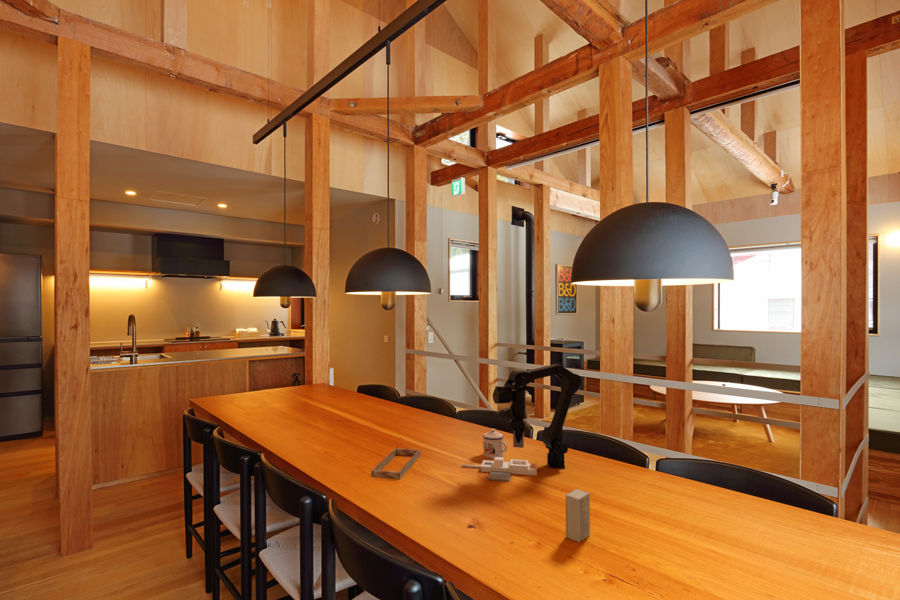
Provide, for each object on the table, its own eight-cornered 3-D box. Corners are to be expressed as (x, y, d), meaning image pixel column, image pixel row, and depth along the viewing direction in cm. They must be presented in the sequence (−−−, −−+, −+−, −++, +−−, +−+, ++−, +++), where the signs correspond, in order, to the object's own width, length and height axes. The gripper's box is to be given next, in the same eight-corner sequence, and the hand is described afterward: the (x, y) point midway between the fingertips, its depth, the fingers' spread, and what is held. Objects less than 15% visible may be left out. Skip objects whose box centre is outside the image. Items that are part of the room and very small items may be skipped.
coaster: (510, 473, 174) (510, 472, 174) (509, 481, 166) (509, 479, 166) (490, 472, 175) (490, 470, 175) (488, 479, 168) (488, 478, 168)
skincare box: (577, 530, 129) (576, 488, 129) (590, 535, 126) (590, 492, 126) (565, 537, 125) (564, 494, 125) (578, 543, 121) (578, 499, 122)
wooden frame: (420, 455, 196) (420, 449, 196) (400, 479, 168) (400, 472, 168) (395, 453, 198) (395, 448, 198) (371, 477, 170) (371, 470, 170)
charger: (523, 444, 179) (523, 429, 179) (523, 447, 175) (523, 432, 175) (513, 444, 180) (513, 428, 180) (513, 447, 176) (513, 431, 176)
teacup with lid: (478, 455, 196) (478, 429, 196) (491, 451, 202) (491, 425, 203) (500, 462, 187) (500, 434, 188) (512, 456, 194) (512, 430, 194)
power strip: (536, 468, 179) (536, 457, 179) (536, 475, 172) (536, 464, 172) (463, 463, 186) (463, 453, 186) (460, 469, 178) (460, 459, 178)
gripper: (500, 396, 188) (500, 433, 188) (496, 406, 170) (496, 446, 170) (526, 397, 186) (527, 435, 186) (525, 407, 168) (525, 448, 168)
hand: (518, 440), depth 177 cm, fingers closed on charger, 4 cm apart
